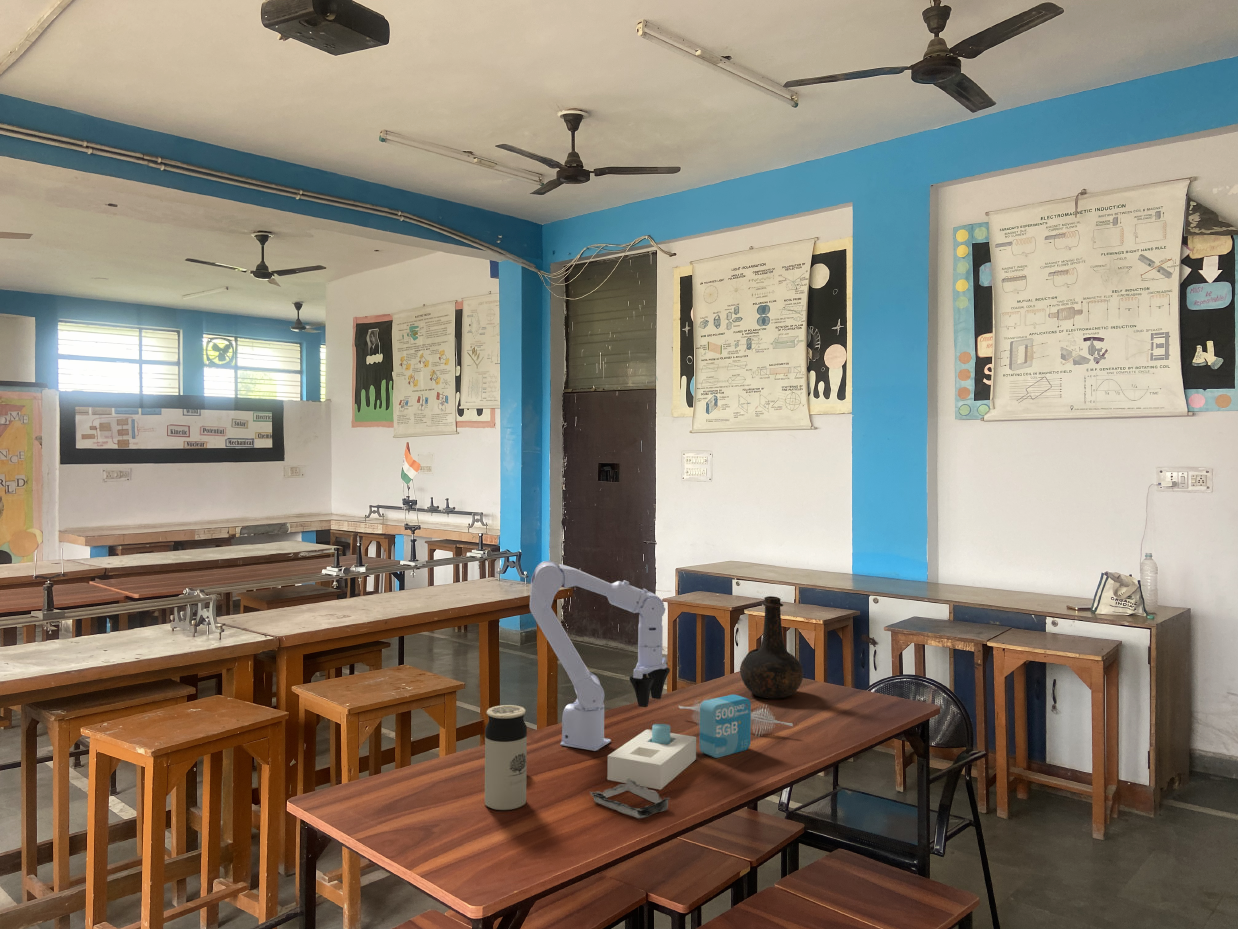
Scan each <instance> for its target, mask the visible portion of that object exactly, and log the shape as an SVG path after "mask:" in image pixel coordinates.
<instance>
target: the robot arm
mask: <svg viewBox="0 0 1238 929" xmlns="http://www.w3.org/2000/svg"><path fill="white" fill-rule="evenodd" d="M561 587H563V588H564V589H568V588H572V587H579V588H582V589H585V590H587V591H589V592H593V593H595V594H599V595H602V596H605V597H606V598H607V600H608V602H609V604H610V605H612V606H615V607H617V608H620V609H623V610H625V611H628V612H631V613H633V614H636V613H637V614H638V613H639V614H638V627H637V628H638V629H637V630H638V636H637V637H638V639H637V640H638V641H637V663H636V665H635V668H634V669H633V670H632V671H633V674H631V675H629V682H630V683H631V685H632V687H633V689H634V693H635V696H636V697H635V698H636V702H637V706H638V707H639V708H640V707H641V708H648V706H649V703H650V697H651V699H655V700H661V698H662V696H663V690H664V686H665V684H666V683H665V682H666V680H667V677H668V675H670V674H669V673H670V671H671V669H670V667H668V664H666V663H667V657H663V635H664V634H663V628H664V627H663V617H664V614H665V612H666V607H665V604H664V601H663V600H662V599H661V598H660V597H659V596H658V595H656V594H655V593H653V592H652V591H648V589H646V588H638V587H636V586H633V585H630V582H629V581H627V580H625V579H624V580H621V581H620V580H617V581H615V582H612V583H610V582H608V581H606V580H603V579H601V578H599V577H597V576H594V575H591V574H589V573H587V572H584V571H583V570H580V569H577V568H575V567H571V566H568V565H565V564H561V563H558V564H557V563H556V562H554V561H551V560H544V561H542V562H540V563H539V564H537V566H536V567H535V569H534V572H533V573H532V576H531V579H530V592H529V593H530V594H529V611H530V613H531V615H532V616H533V618H534V620H535V621H536V623H537V625H538V627H539V628H540V630H541V631H542V633H543V635H544V637H545V638H546V640H547V641H548V643H549V645H550V646H551V648H552V650H553V652H554V654H555V655H556V657H557V659H558V660H559V662H560V664H561V665H562V667H563V669H564V670H565V672H566V673H567V676H568V677H569V679H570V681H571V683H572V685H573V689H574V692H575V695H576V699H575V701H574V702H573V703H567V705H565V707H564V709H563V711H562V717H561V731H562V732H561V742H560V744H559V745H560V746H565V747H569V748H570V747H571V748H576V749H582V750H587V751H594V752H596V751H599V750H600V749H601V748H603V747H604V746H605V745H606V746H607V745H608V744H609V743H611V742H612V740H611V739H610V738H605V702H604V701H605V690H604V689H603V687H602V685H601V681H600V679H599V678H598V676H597V675H595V674H594V673H592V672H591V671H590V670H589V669H588V667H587V665H586V664H585V662H584V661H583V658H582V657H581V656H580V654H579V652H578V650H577V649H576V648H575V645H574V644H573V642H572V641H571V639H570V637H569V635H568V634H567V632H566V630H565V629H564V626H562V624H561V622H560V620H559V619H558V616H557V615H556V613H555V612H554V610H553V608H552V605H553V603H554V598H555V596H556V595H557V593H558V592H559V590H560V589H561Z"/></svg>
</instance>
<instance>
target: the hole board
mask: <svg viewBox="0 0 1238 929" xmlns="http://www.w3.org/2000/svg"><path fill="white" fill-rule="evenodd" d="M695 760H697V737H696V736H692V735H686V734H679V733H673V732H670V744H668V745H664V744H658V743H652V729H645V730H643V731H642V732H640V733H639V734H638V735H636V736H635V737H633V738H632V739H630V740H628V741H627V742H626V743H624V744H623V745H622V746H620V747H619V748H617V749H615V750H613V751H612V752H611V753H610V754H608V755H607V780H608V781H612V782H618V783H622V784H626V780H627V779H628V778H629V779H631V780H633V781H635V782H636V783H637V785H638V784H639V785H640V787H642V786H645V787H646V788H649V789H655V790H662V789H664V788H665V786H667V785H668V784H669V783H671V781H673V780H674V779H675V778H676V777H677V776H679V775H680V774H681V773H682V772H683V771H685V769H686V768H688V767H689V766H690V765H691V764H693V762H695Z"/></svg>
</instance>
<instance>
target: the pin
mask: <svg viewBox="0 0 1238 929" xmlns="http://www.w3.org/2000/svg"><path fill="white" fill-rule="evenodd" d="M651 727H652V728H651V730H652V743H658V744H664V745H668V744H670V733H671V725H670V724H667V723H655V724H652V726H651Z"/></svg>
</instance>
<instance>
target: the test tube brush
mask: <svg viewBox="0 0 1238 929" xmlns="http://www.w3.org/2000/svg"><path fill="white" fill-rule="evenodd" d="M708 698H709V699H708ZM706 699H708V700H710V699H711V695H710V696H707V697H706ZM706 699H702V701H701V700H697V699H694V702H695V703H694V704H693V705H692V706H683V705H678V708H679V709H682V710H683V709H686V710H687V709H688V710H693V712H692V715H691V718H692V720H693V722H696V723H697V724H696V725H697V726H698V728H700V706H701V703H702V702H703V701H705V700H706ZM699 702H700V703H699ZM767 706H768V704H766V706H765V704H763V706H760V707H759V708H756V709H754V710H753V712H752V710H751V727H752V731H751V732H753V733H755V737H757V734H758V738H759V737H760V734H761V737H762V736H763V734H765V733H766V732H769V731H772V730H773V728H776V726H775V725H774V724H782V725H785V726H789V727H793V723H791V722H785V721H779V720H777V719H776V716H773V715H774V714H775V713H773V712H771V711H769V708H770V707H768V708H767ZM761 707H762V709H761ZM764 707H765V709H764ZM768 729H769V730H768ZM758 730H759V733H758ZM764 730H766V731H764ZM755 731H756V732H755Z"/></svg>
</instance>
